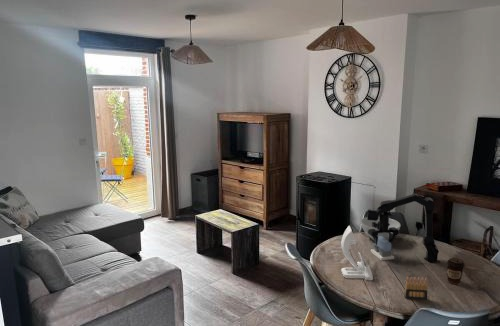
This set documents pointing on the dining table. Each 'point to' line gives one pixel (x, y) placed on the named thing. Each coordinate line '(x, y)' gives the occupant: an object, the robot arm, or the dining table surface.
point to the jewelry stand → (356, 271)
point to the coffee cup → (454, 270)
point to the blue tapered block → (383, 244)
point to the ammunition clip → (416, 289)
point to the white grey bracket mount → (381, 253)
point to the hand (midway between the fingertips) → (382, 244)
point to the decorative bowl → (368, 225)
